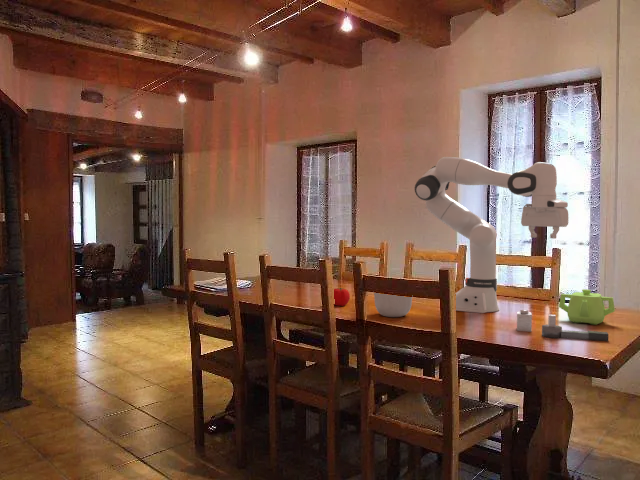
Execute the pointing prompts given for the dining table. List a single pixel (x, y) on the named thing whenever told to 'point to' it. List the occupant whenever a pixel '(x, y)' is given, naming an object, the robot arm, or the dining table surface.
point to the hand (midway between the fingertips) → (543, 238)
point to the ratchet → (570, 332)
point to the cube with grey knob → (524, 320)
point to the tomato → (341, 296)
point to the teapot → (586, 307)
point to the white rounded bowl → (392, 305)
